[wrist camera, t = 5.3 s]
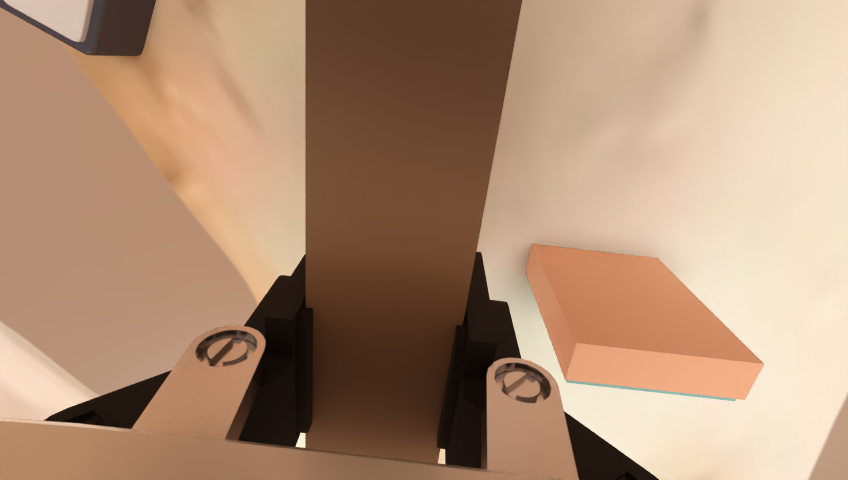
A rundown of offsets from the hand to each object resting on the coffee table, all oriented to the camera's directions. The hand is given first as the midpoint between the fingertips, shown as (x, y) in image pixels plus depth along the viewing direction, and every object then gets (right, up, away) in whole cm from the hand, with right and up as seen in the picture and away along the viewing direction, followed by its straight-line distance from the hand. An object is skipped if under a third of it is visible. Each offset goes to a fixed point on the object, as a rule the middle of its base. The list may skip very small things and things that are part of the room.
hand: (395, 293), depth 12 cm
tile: (+11, 0, +16) cm, 20 cm away
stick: (0, 0, +1) cm, 1 cm away
